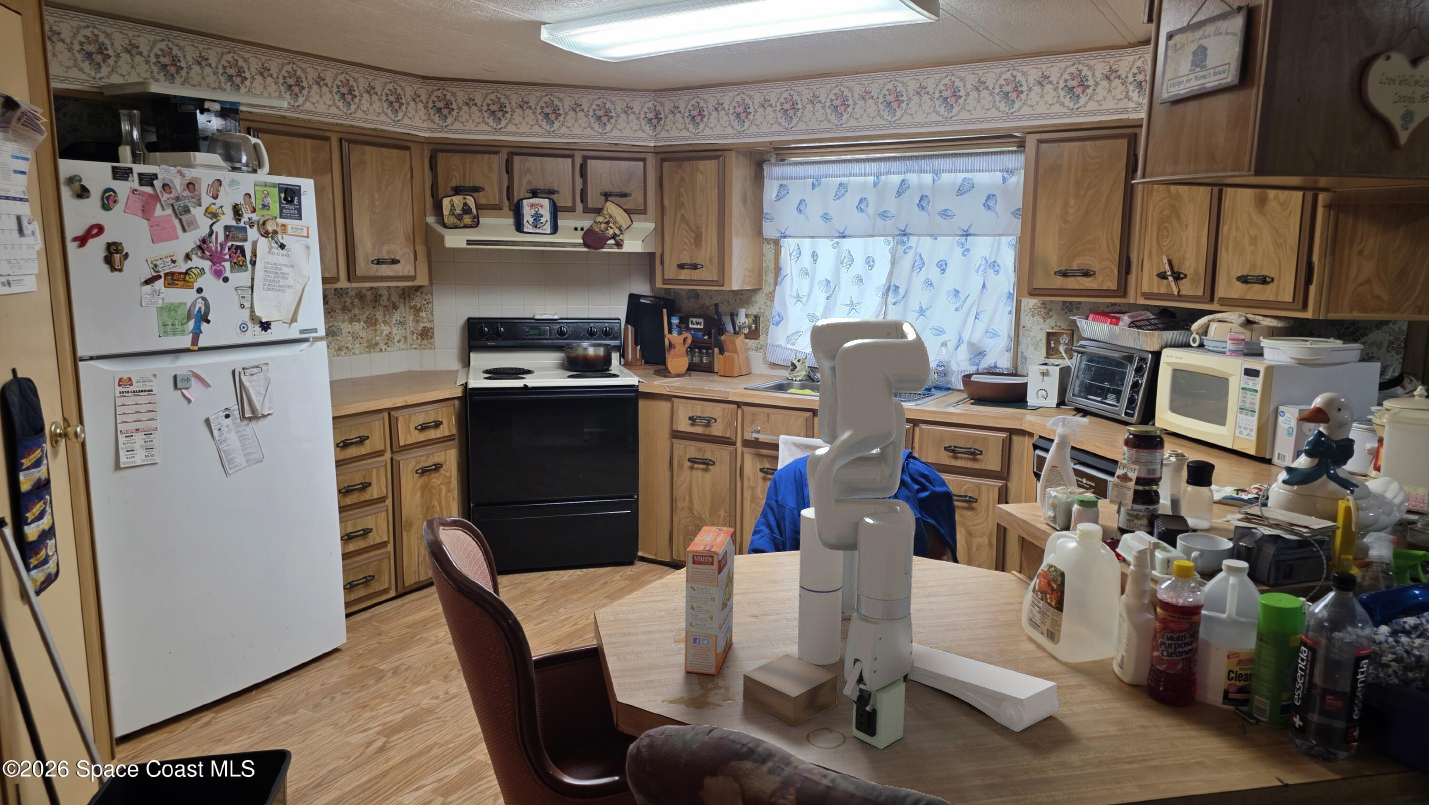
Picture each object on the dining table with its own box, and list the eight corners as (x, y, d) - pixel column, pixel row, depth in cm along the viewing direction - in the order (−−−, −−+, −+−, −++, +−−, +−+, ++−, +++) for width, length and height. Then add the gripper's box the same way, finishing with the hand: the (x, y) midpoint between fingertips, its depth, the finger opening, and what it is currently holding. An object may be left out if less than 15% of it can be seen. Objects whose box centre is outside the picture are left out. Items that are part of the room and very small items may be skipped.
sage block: (874, 722, 130) (876, 671, 128) (902, 736, 126) (905, 683, 125) (852, 734, 126) (854, 682, 125) (881, 749, 123) (883, 695, 121)
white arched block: (880, 698, 150) (1026, 750, 127) (870, 659, 148) (1016, 705, 126) (918, 668, 155) (1065, 713, 133) (909, 630, 154) (1055, 669, 131)
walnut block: (786, 683, 143) (787, 653, 142) (836, 706, 136) (837, 675, 135) (742, 704, 136) (743, 673, 135) (792, 729, 129) (793, 697, 128)
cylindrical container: (812, 668, 147) (816, 521, 143) (789, 651, 154) (792, 510, 150) (848, 659, 151) (853, 515, 147) (824, 643, 157) (828, 505, 153)
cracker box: (719, 677, 144) (720, 552, 141) (683, 673, 145) (683, 549, 142) (735, 641, 158) (736, 526, 154) (701, 638, 159) (702, 524, 156)
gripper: (897, 580, 131) (892, 696, 134) (821, 611, 120) (817, 737, 123) (941, 595, 126) (935, 715, 129) (866, 628, 115) (861, 759, 118)
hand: (878, 724), depth 126 cm, fingers closed on sage block, 4 cm apart
